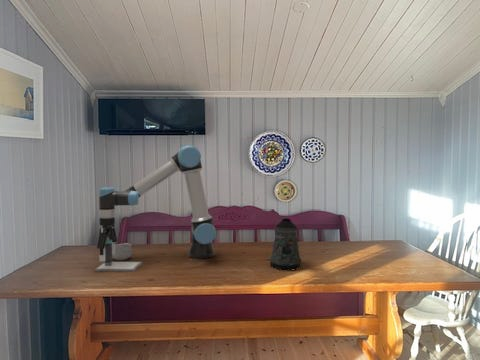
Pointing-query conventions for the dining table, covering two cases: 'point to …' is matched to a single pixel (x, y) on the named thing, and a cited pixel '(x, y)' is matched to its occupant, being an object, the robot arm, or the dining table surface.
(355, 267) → the dining table surface
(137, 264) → the small whiteboard
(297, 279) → the dining table surface
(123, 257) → the teacup
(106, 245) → the marker
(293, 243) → the beer stein
